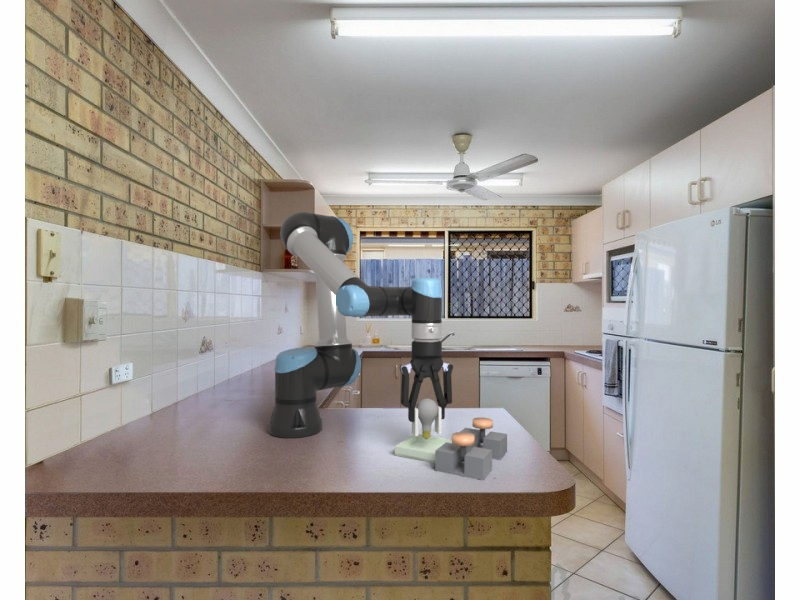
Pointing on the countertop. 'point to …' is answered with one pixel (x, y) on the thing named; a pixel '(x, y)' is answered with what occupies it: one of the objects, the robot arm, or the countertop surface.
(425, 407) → the light bulb
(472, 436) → the plunger
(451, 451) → the socket housing
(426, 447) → the tray
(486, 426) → the orange mushroom knob
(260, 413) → the countertop surface
